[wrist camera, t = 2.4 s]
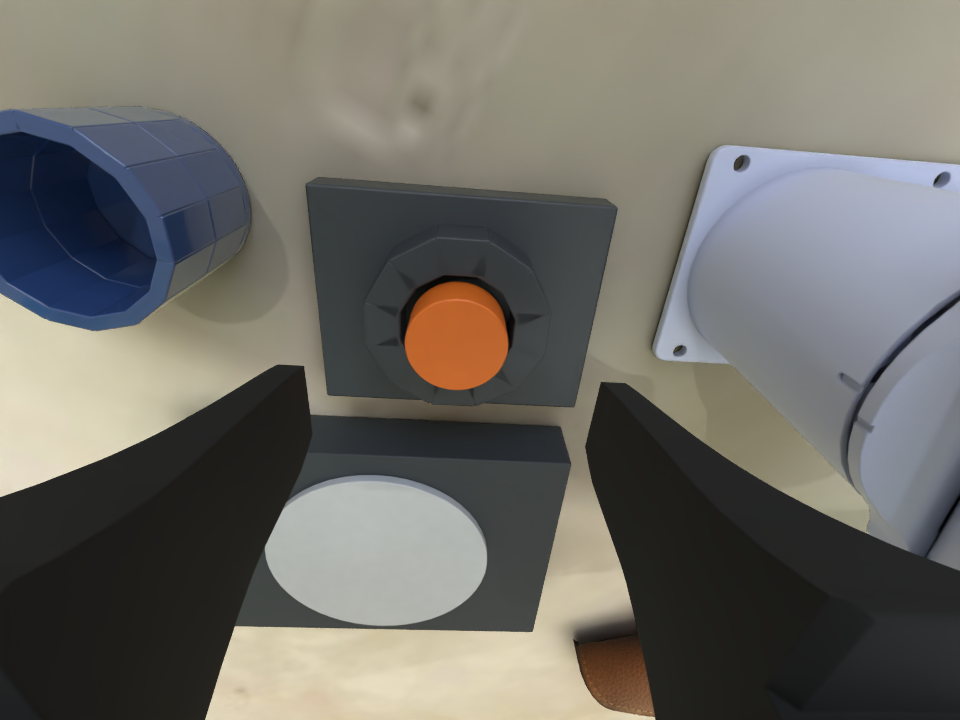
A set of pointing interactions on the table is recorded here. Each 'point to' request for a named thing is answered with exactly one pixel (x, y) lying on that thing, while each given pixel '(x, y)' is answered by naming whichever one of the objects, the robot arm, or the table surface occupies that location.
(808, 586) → the robot arm
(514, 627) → the scale
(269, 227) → the table surface
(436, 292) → the button
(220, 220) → the blue cup
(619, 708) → the sunglasses case
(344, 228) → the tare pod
